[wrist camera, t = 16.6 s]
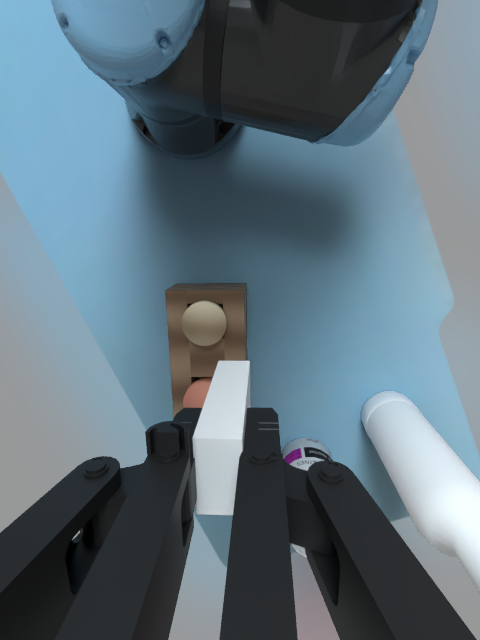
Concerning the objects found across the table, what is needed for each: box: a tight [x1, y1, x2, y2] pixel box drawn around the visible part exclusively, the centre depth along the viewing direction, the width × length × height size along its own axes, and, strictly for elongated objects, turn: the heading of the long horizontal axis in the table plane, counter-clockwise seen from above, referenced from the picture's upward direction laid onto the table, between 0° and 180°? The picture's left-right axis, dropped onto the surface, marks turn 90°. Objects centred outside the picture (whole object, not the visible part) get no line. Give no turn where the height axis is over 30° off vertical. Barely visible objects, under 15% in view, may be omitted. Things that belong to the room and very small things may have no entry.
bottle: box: [361, 391, 480, 593], centre depth 40 cm, size 8×8×30 cm
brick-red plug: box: [183, 377, 213, 408], centre depth 49 cm, size 6×6×7 cm
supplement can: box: [281, 438, 333, 558], centre depth 50 cm, size 8×8×15 cm
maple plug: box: [181, 300, 227, 346], centre depth 48 cm, size 6×6×7 cm
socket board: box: [165, 283, 247, 417], centre depth 51 cm, size 28×10×6 cm, turn 1°
